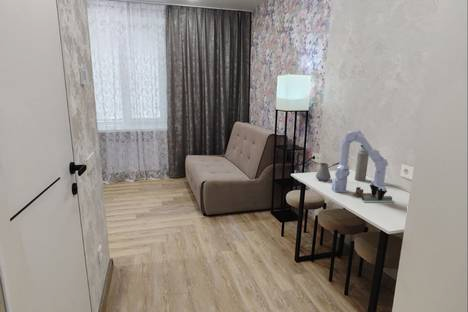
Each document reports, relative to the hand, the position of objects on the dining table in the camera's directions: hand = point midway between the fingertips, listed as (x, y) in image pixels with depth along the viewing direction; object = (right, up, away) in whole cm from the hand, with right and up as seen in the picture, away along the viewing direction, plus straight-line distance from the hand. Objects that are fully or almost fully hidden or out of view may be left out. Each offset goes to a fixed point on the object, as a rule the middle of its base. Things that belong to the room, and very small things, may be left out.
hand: (376, 197), depth 191 cm
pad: (0, -2, 0) cm, 2 cm away
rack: (-2, 0, +9) cm, 9 cm away
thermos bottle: (+7, +8, +43) cm, 44 cm away
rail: (0, -1, 0) cm, 1 cm away
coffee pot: (-18, +8, +42) cm, 47 cm away
